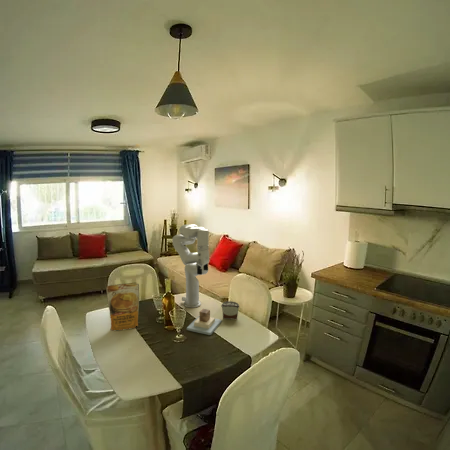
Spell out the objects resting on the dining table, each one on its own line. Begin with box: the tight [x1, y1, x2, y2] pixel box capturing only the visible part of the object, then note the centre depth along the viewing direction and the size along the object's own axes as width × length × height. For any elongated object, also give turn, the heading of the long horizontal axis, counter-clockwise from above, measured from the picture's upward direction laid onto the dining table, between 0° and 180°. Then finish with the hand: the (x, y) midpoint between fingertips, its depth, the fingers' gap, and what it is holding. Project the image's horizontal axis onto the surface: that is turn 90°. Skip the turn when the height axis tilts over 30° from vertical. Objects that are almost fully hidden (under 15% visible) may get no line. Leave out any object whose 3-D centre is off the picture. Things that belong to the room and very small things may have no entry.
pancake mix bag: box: [105, 282, 140, 331], centre depth 177 cm, size 7×19×28 cm, turn 110°
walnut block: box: [198, 308, 211, 322], centre depth 182 cm, size 5×5×6 cm
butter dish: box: [186, 315, 223, 336], centre depth 182 cm, size 16×18×4 cm
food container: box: [220, 300, 240, 320], centre depth 195 cm, size 12×6×10 cm, turn 84°
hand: (202, 272), depth 194 cm, fingers open, 9 cm apart
